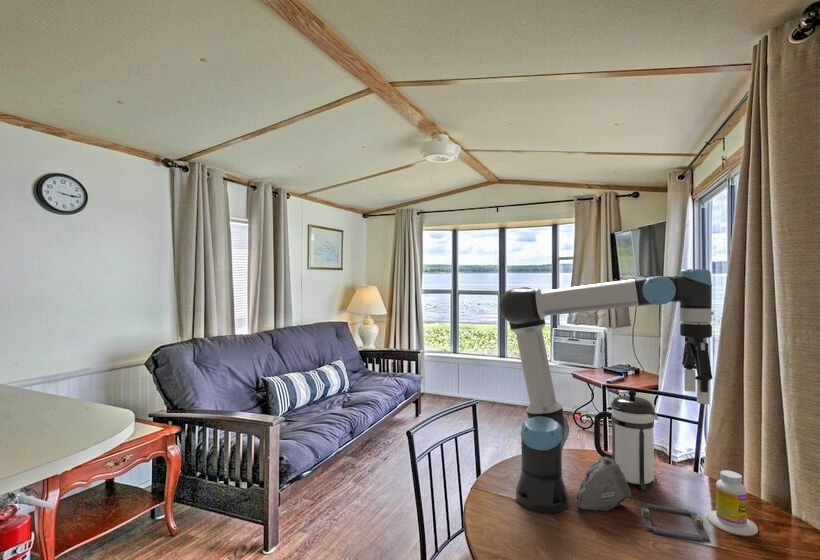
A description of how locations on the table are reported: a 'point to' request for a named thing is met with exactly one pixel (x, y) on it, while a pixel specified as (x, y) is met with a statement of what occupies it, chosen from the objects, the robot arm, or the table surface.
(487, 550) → the table surface
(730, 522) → the supplement bottle
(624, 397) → the coffee press
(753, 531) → the coaster
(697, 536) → the grey square frame
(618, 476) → the decorative rock
